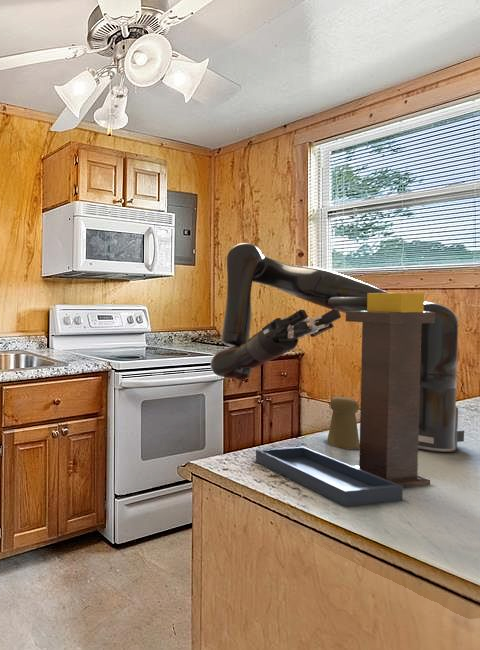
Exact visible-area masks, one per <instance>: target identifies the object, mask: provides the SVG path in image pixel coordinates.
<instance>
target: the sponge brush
mask: <svg viewBox="0 0 480 650" xmlns="http://www.w3.org/2000/svg"><path fill="white" fill-rule="evenodd" d="M424 301H425V293H424V292H388V293H368V295H367V297H332V298H330V299H329V300H328V303H329V305H331V306H340V307H367V311H371V312H401V313H402V312H424Z"/></svg>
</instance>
